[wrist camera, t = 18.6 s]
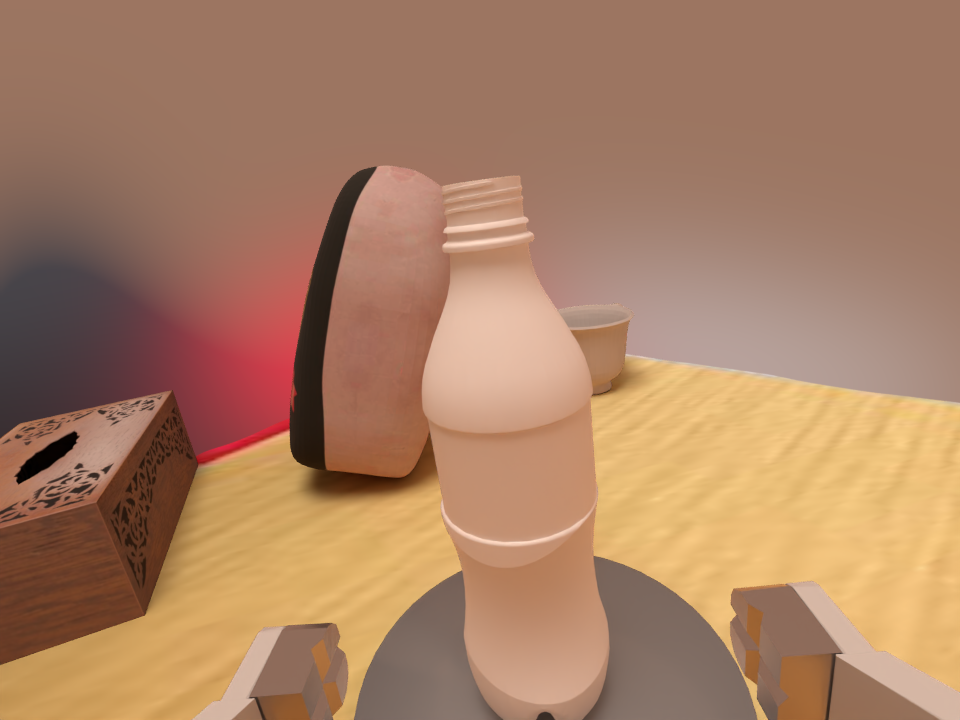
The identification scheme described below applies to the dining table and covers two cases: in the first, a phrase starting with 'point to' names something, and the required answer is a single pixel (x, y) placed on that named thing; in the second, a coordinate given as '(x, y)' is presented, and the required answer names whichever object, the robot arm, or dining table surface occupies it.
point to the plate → (630, 672)
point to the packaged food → (370, 326)
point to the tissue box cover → (87, 518)
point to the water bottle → (515, 464)
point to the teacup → (600, 339)
